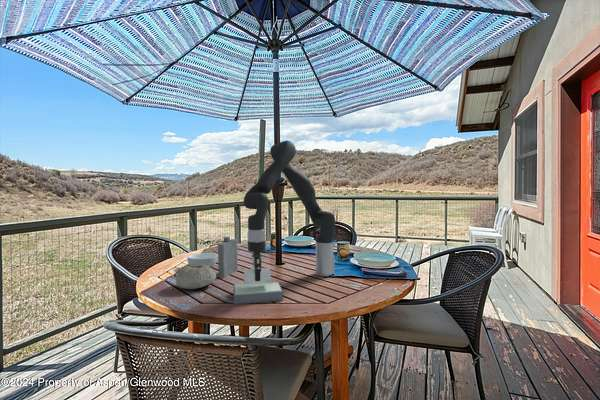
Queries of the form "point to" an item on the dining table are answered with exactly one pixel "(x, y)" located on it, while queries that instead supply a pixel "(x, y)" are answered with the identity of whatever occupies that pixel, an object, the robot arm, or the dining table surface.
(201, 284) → the beige squat rounded piece
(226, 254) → the hip flask
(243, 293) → the stand
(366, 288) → the dining table surface
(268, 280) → the housing
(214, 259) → the cereal bowl
